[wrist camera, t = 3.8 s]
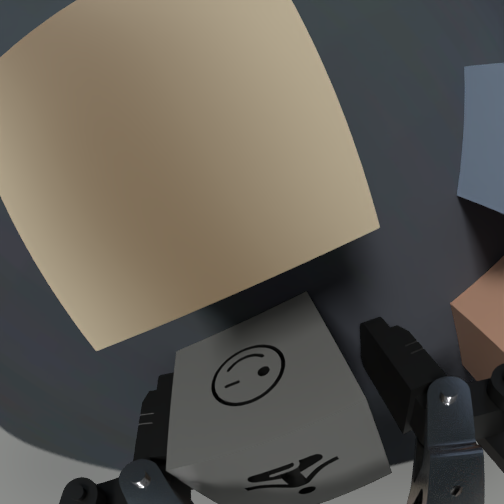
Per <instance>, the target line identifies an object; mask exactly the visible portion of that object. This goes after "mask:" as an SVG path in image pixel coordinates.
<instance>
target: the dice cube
mask: <svg viewBox="0 0 504 504" xmlns="http://www.w3.org/2000/svg"><path fill="white" fill-rule="evenodd" d="M166 471H167V472H169V473H170V474H172V475H173V476H175V477H176V478H178V479H179V480H180V481H182V482H184V483H185V484H187V485H188V486H190V487H191V488H193V489H194V490H196V491H198V492H199V493H201V494H202V495H204V496H206V497H207V498H209V499H211V500H212V501H214V502H216V503H218V504H320V503H323V502H326V501H329V500H331V499H334V498H336V497H339V496H341V495H343V494H346V493H349V492H351V491H353V490H356V489H358V488H360V487H363V486H365V485H367V484H369V483H372V482H374V481H376V480H378V479H380V478H382V477H384V476H386V475H388V474H390V473H392V472H391V469H390V466H389V463H388V460H387V457H386V454H385V451H384V448H383V445H382V442H381V439H380V436H379V433H378V430H377V428H376V425H375V422H374V419H373V416H372V414H371V411H370V408H369V405H368V403H367V400H366V397H365V396H364V394H363V392H362V390H361V388H360V386H359V385H358V383H357V381H356V379H355V377H354V375H353V373H352V372H351V370H350V368H349V366H348V364H347V363H346V361H345V359H344V357H343V355H342V353H341V352H340V350H339V348H338V346H337V344H336V343H335V341H334V339H333V337H332V335H331V334H330V332H329V330H328V328H327V327H326V325H325V323H324V321H323V319H322V318H321V316H320V314H319V312H318V311H317V309H316V307H315V305H314V304H313V302H312V300H311V298H310V296H309V295H308V293H307V291H306V292H304V293H302V294H300V295H298V296H296V297H294V298H292V299H290V300H288V301H286V302H284V303H282V304H280V305H277V306H275V307H273V308H271V309H269V310H267V311H265V312H263V313H261V314H259V315H257V316H254V317H252V318H250V319H248V320H246V321H244V322H242V323H239V324H237V325H235V326H233V327H231V328H228V329H226V330H224V331H222V332H220V333H217V334H215V335H213V336H211V337H208V338H206V339H204V340H202V341H199V342H197V343H195V344H192V345H190V346H188V347H186V348H183V349H181V350H179V351H176V359H175V367H174V377H173V386H172V397H171V407H170V419H169V431H168V444H167V459H166Z"/></svg>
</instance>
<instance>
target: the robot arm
mask: <svg viewBox="0 0 504 504" xmlns="http://www.w3.org/2000/svg"><path fill="white" fill-rule="evenodd" d="M360 342H361V358H362V362H363V366H364V368H365V370H366V372H367V374H368V375H369V377H370V379H371V380H372V382H373V384H374V385H375V387H376V389H377V390H378V392H379V394H380V395H381V397H382V399H383V400H384V402H385V404H386V406H387V407H388V409H389V411H390V412H391V414H392V416H393V418H394V419H395V421H396V423H397V424H398V426H399V428H400V430H401V431H402V433H403V434H404V433H407V432H409V431H411V430H413V431H414V433H415V435H416V439H415V451H414V463H413V474H412V483H411V489H410V493H409V497H408V501H407V504H484V455H483V449H484V450H485V452H486V453H487V454H488V455H489V456H490V457H491V459H492V460H493V461H494V462H495V463H496V464H497V466H498V467H499V468H500V469H501V470H502V471H503V473H504V364H501V365H499V366H497V367H496V368H495V369H494V370H493V372H492V375H491V378H488V379H484V380H480V381H476V382H471V383H466V382H465V381H463V380H462V379H460V378H457V377H453V376H447V375H446V374H445V373H444V372H443V371H442V369H441V368H440V367H439V366H438V365H437V363H436V362H435V361H434V360H433V359H432V358H431V356H430V355H429V354H428V353H427V352H426V351H425V349H423V347H422V346H421V345H420V344H419V342H417V341H416V339H415V338H414V337H413V336H412V334H411V333H410V332H409V331H407V330H405V329H403V328H401V327H399V326H394V327H391V328H390V327H389V326H388V324H387V323H386V322H385V321H384V320H383V319H382V318H381V317H378V318H375V319H372V320H369V321H367V322H364V323H361V324H360ZM173 377H174V373H169V374H164V375H160V376H159V379H158V385H157V390H154V391H149V393H148V394H147V396H146V398H145V399H144V401H143V402H142V408H141V416H140V420H139V426H138V432H137V439H136V445H135V452H134V459H133V461H132V462H130V463H129V464H127V465H126V466H125V467H124V468H123V470H122V471H121V473H120V476H119V478H116V479H113V480H110V481H107V482H104V483H100V484H97V485H96V484H95V483H94V482H93V481H91V480H90V479H88V478H82V477H81V478H76V479H74V480H72V481H70V482H69V483H68V484H67V485H66V487H65V488H64V491H63V493H62V496H61V500H60V503H59V504H194V503H193V502H192V501H191V490H193V488H191V487H190V486H188V485H187V484H185V483H184V482H182V481H180V480H179V479H178V478H176V477H175V476H173V475H172V474H170V473H169V472H167V471H166V459H167V444H168V431H169V419H170V407H171V397H172V386H173ZM475 440H476V441H477V442H478V444H479V445H477V444H476V441H475ZM482 448H483V449H482Z"/></svg>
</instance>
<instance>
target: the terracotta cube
mask: <svg viewBox="0 0 504 504" xmlns="http://www.w3.org/2000/svg"><path fill="white" fill-rule="evenodd" d="M450 305H451V309H452V313H453V318H454V322H455V327H456V332H457V337H458V342H459V348H460V353H461V359H462V365H463V366H464V367H465V368H466V369H467V370H468V372H469V373H470V374H471V375H472V376H473V377H474V378H475V380H476V381H480V380H484V379H488V378H491V375H492V372H493V370H494V369H495V368H496V367H497V366H499V365H501V364H504V256H503V257H502V258H501V259H500V260H499V261H498V262H497V263H496V264H495V265H494V266H492V267H491V268H490V269H489V270H488V271H487V272H486V273H485V274H484V275H483V276H482V277H480V278H479V279H478V280H477V281H476V282H475V283H474V284H473V285H471V286H470V287H469V288H468V289H467V290H466V291H465V292H463V293H462V294H461V295H460V296H459V297H457V298H456V299H455V300H454V301H453V302H451V303H450Z"/></svg>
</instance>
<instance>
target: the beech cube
mask: <svg viewBox="0 0 504 504" xmlns="http://www.w3.org/2000/svg"><path fill="white" fill-rule="evenodd" d="M0 196H1V198H2V200H3V202H4V205H5V207H6V209H7V211H8V213H9V215H10V217H11V219H12V221H13V223H14V225H15V227H16V229H17V231H18V232H19V234H20V236H21V238H22V240H23V242H24V244H25V245H26V247H27V249H28V251H29V253H30V254H31V256H32V258H33V259H34V261H35V263H36V265H37V266H38V268H39V270H40V271H41V273H42V274H43V276H44V278H45V279H46V281H47V282H48V284H49V286H50V287H51V289H52V290H53V292H54V293H55V295H56V296H57V298H58V299H59V301H60V302H61V304H62V305H63V307H64V308H65V310H66V311H67V313H68V314H69V315H70V317H71V318H72V320H73V321H74V322H75V324H76V325H77V327H78V328H79V329H80V331H81V332H82V333H83V335H84V336H85V337H86V339H87V340H88V341H89V343H90V344H91V345H92V346H93V348H94V349H95V350H96V351H98V350H101V349H103V348H106V347H108V346H111V345H113V344H116V343H118V342H121V341H123V340H126V339H128V338H131V337H133V336H136V335H138V334H141V333H143V332H146V331H148V330H150V329H153V328H155V327H158V326H160V325H163V324H165V323H167V322H170V321H172V320H175V319H177V318H179V317H182V316H184V315H187V314H189V313H191V312H194V311H196V310H198V309H201V308H203V307H205V306H208V305H210V304H212V303H215V302H217V301H219V300H222V299H224V298H226V297H229V296H231V295H233V294H236V293H238V292H240V291H242V290H245V289H247V288H249V287H252V286H254V285H256V284H258V283H261V282H263V281H265V280H267V279H270V278H272V277H274V276H276V275H279V274H281V273H283V272H285V271H288V270H290V269H292V268H294V267H296V266H299V265H301V264H303V263H305V262H307V261H310V260H312V259H314V258H316V257H318V256H320V255H323V254H325V253H327V252H329V251H331V250H333V249H336V248H338V247H340V246H342V245H344V244H346V243H348V242H351V241H353V240H355V239H357V238H359V237H361V236H363V235H365V234H368V233H370V232H372V231H374V230H376V229H378V228H380V226H379V222H378V219H377V215H376V211H375V208H374V204H373V201H372V197H371V194H370V191H369V187H368V184H367V181H366V177H365V174H364V171H363V168H362V165H361V162H360V159H359V156H358V153H357V150H356V147H355V144H354V141H353V138H352V136H351V133H350V130H349V127H348V125H347V122H346V119H345V117H344V114H343V111H342V109H341V106H340V104H339V101H338V99H337V96H336V94H335V91H334V89H333V86H332V84H331V82H330V79H329V77H328V75H327V72H326V70H325V68H324V65H323V63H322V61H321V59H320V57H319V54H318V52H317V50H316V48H315V46H314V44H313V42H312V39H311V37H310V35H309V33H308V31H307V29H306V27H305V25H304V23H303V21H302V19H301V17H300V15H299V13H298V11H297V10H296V8H295V6H294V4H293V2H292V0H76V1H75V2H73V3H72V4H70V5H68V6H67V7H65V8H64V9H62V10H61V11H59V12H58V13H56V14H55V15H53V16H52V17H51V18H49V19H48V20H46V21H45V22H44V23H42V24H41V25H39V26H38V27H37V28H35V29H34V30H33V31H32V32H30V33H29V34H28V35H26V36H25V37H24V38H23V39H21V40H20V41H19V42H18V43H16V44H15V45H14V46H13V47H12V48H11V49H9V50H8V51H7V52H6V53H5V54H4V55H2V56H1V57H0Z"/></svg>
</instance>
